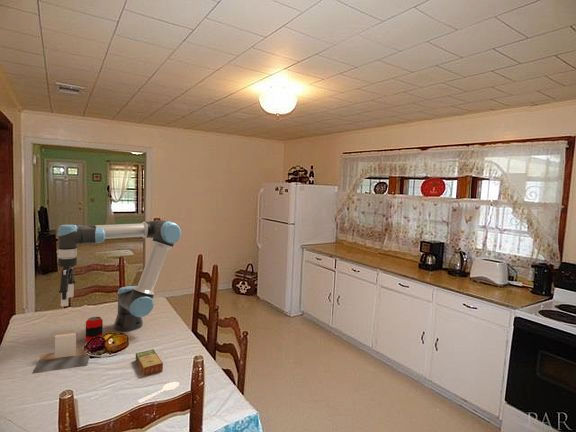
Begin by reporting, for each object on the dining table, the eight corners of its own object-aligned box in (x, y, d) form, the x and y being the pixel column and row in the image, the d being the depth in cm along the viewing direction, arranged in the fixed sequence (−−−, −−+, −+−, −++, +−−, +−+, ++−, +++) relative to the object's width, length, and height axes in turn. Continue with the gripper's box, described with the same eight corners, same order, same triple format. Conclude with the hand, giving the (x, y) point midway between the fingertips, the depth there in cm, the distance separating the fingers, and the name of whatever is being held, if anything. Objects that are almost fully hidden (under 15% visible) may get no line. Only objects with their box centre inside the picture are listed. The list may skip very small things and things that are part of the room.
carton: (143, 377, 146) (143, 367, 146) (135, 361, 159) (135, 352, 159) (163, 371, 151) (163, 362, 151) (153, 356, 164) (153, 348, 164)
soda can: (104, 341, 176) (104, 318, 176) (88, 345, 171) (88, 322, 170) (99, 336, 182) (99, 314, 181) (83, 340, 176) (83, 318, 175)
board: (91, 350, 166) (91, 348, 166) (87, 368, 150) (87, 365, 150) (42, 356, 158) (42, 354, 158) (31, 376, 142) (31, 373, 142)
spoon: (134, 400, 130) (134, 399, 130) (174, 380, 144) (174, 379, 144) (142, 406, 126) (142, 404, 126) (182, 385, 141) (182, 384, 141)
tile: (76, 353, 160) (76, 332, 159) (75, 355, 158) (75, 334, 158) (55, 356, 157) (55, 334, 156) (54, 358, 155) (55, 336, 154)
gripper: (63, 252, 171) (63, 294, 172) (51, 263, 148) (51, 310, 150) (80, 252, 174) (80, 293, 175) (72, 262, 151) (71, 309, 153)
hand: (67, 301), depth 163 cm, fingers open, 13 cm apart
